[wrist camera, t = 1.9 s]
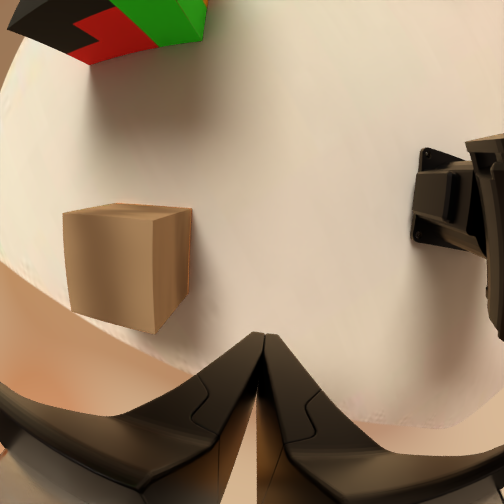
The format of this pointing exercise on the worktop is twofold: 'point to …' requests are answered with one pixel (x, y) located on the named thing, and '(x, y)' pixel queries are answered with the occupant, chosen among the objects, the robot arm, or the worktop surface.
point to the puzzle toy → (109, 25)
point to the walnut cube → (127, 262)
